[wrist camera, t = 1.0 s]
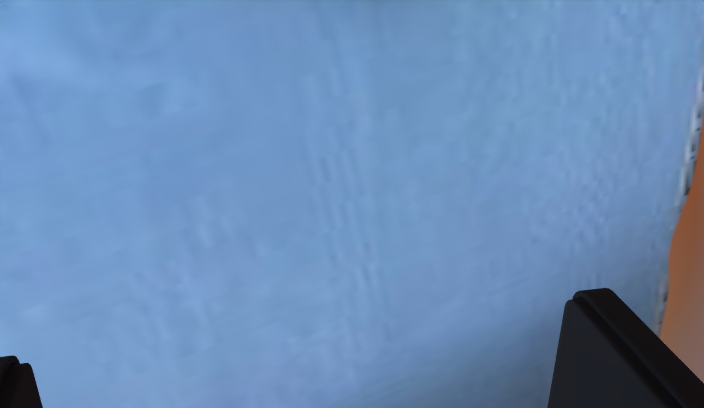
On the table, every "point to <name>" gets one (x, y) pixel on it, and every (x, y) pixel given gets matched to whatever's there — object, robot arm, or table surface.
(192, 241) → the table surface
